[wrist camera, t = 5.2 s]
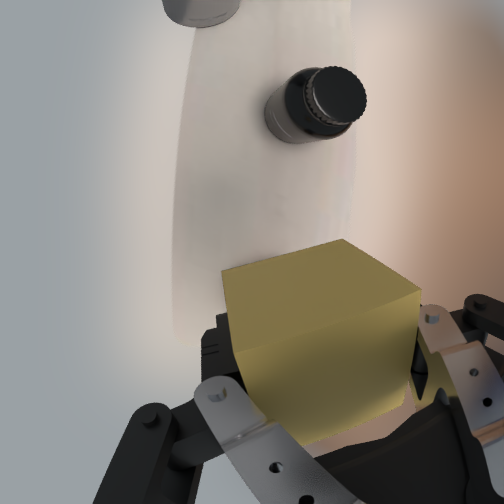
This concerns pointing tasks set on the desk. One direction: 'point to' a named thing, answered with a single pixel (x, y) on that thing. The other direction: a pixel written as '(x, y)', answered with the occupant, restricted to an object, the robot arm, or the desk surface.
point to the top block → (322, 337)
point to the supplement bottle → (315, 105)
